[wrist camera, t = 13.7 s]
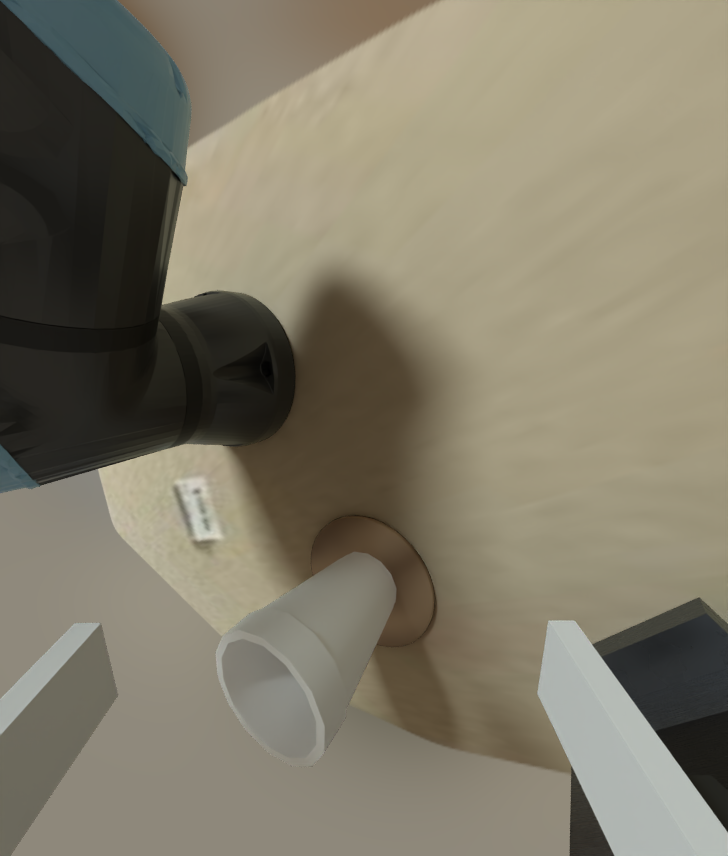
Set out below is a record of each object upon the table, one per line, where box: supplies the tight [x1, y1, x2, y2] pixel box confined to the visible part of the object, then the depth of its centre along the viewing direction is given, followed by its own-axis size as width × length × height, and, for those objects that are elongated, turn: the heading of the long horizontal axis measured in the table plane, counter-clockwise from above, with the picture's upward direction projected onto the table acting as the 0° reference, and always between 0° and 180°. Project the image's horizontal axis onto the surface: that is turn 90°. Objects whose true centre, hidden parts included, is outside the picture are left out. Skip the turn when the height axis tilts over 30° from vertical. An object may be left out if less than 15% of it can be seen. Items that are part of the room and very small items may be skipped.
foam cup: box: [216, 552, 397, 767], centre depth 29 cm, size 10×9×13 cm
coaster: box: [311, 515, 435, 647], centre depth 34 cm, size 13×13×1 cm
